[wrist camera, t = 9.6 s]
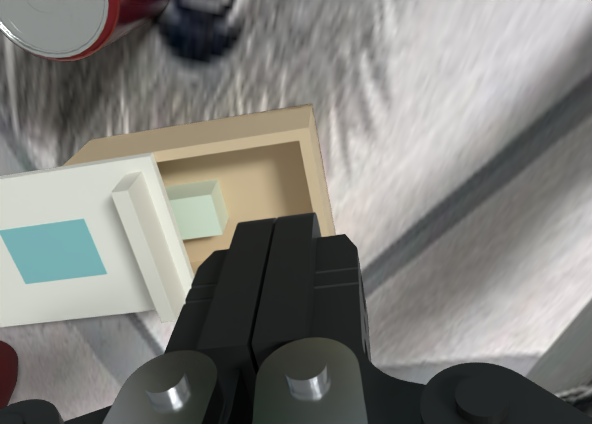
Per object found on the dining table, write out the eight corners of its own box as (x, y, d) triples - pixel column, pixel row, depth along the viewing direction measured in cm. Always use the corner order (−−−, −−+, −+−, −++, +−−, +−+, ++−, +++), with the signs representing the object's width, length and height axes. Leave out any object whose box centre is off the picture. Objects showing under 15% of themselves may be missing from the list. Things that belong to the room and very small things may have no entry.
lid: (152, 152, 38) (135, 174, 35) (202, 299, 44) (191, 330, 41) (-74, 187, 41) (-110, 211, 38) (2, 322, 47) (-23, 352, 44)
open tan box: (311, 103, 41) (308, 127, 37) (338, 248, 47) (337, 283, 43) (90, 139, 44) (62, 166, 39) (142, 272, 50) (122, 308, 45)
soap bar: (217, 178, 44) (210, 194, 42) (228, 217, 46) (222, 234, 43) (159, 187, 45) (149, 203, 42) (172, 224, 46) (162, 242, 44)
